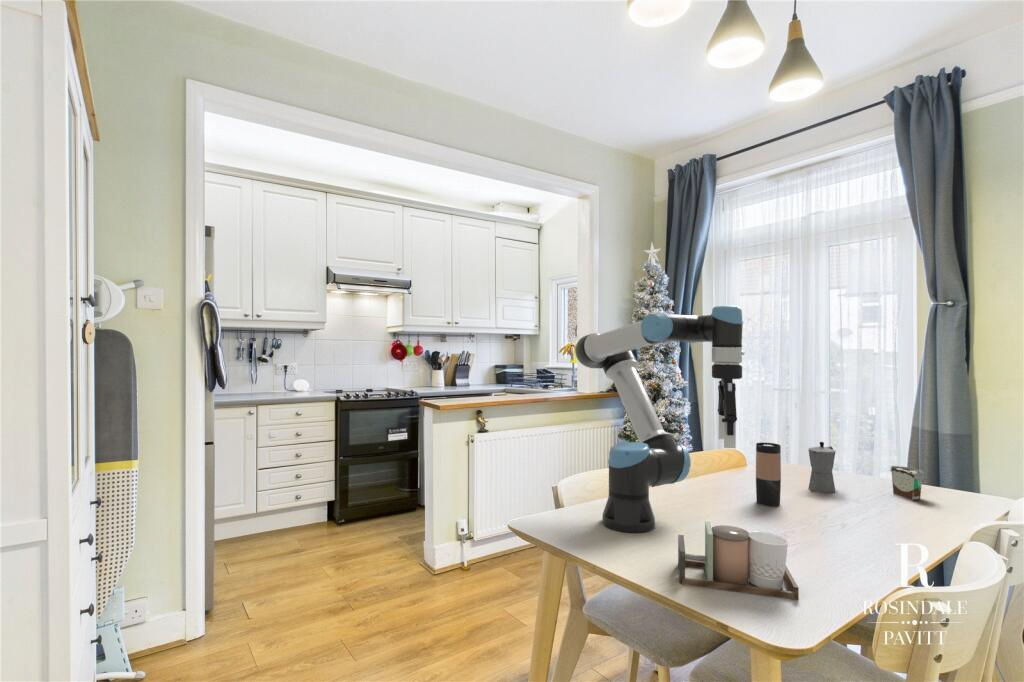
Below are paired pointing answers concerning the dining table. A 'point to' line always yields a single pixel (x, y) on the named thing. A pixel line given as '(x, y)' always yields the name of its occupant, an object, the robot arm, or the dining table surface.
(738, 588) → the brown wooden rack
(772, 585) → the white cup
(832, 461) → the coffeepot
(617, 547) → the dining table surface
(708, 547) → the pusher plate
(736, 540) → the terracotta jar
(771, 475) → the travel mug
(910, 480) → the food container
